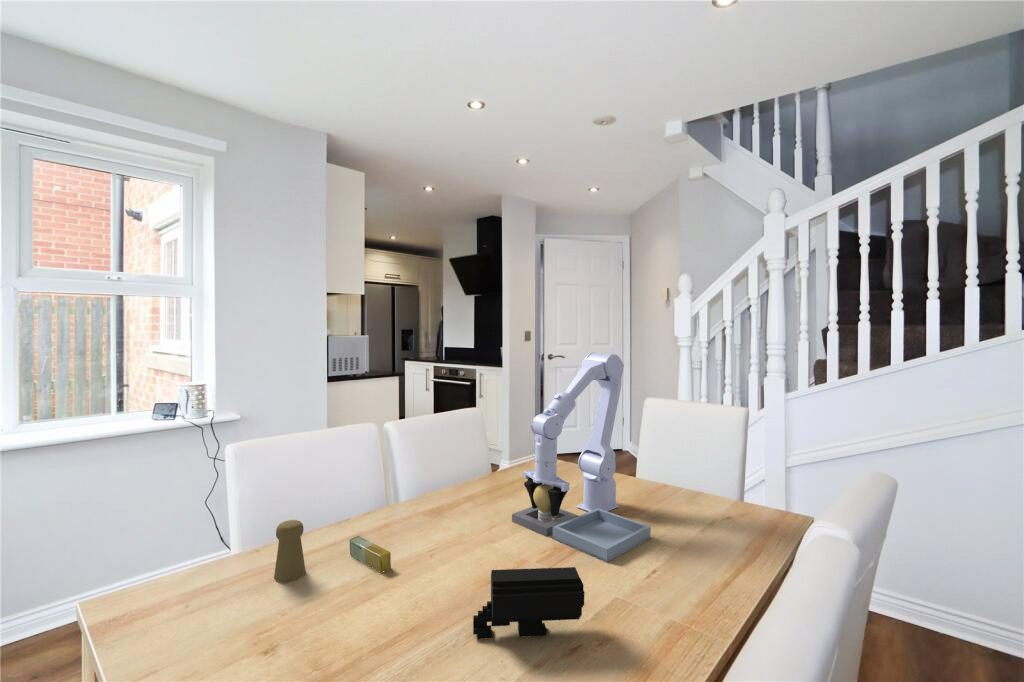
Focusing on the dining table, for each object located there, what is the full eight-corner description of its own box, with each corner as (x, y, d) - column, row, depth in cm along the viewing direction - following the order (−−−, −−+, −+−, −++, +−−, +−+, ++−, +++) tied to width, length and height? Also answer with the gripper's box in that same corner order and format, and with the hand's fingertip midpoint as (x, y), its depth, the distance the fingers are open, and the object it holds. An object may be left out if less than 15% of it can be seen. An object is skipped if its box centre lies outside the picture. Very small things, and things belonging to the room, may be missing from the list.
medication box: (349, 556, 110) (348, 539, 110) (359, 551, 112) (359, 534, 112) (381, 574, 102) (380, 555, 102) (392, 569, 104) (391, 551, 104)
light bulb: (557, 518, 132) (557, 481, 132) (557, 527, 126) (557, 489, 126) (533, 516, 133) (534, 480, 133) (532, 526, 127) (532, 488, 126)
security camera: (473, 622, 86) (473, 566, 86) (576, 617, 88) (577, 562, 87) (473, 648, 79) (473, 587, 79) (585, 643, 81) (586, 583, 80)
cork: (312, 570, 103) (312, 518, 103) (290, 584, 97) (290, 530, 97) (289, 565, 105) (289, 514, 105) (266, 579, 99) (266, 525, 99)
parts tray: (597, 519, 132) (597, 508, 132) (650, 538, 120) (650, 526, 120) (552, 538, 119) (552, 526, 119) (606, 562, 108) (607, 549, 108)
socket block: (543, 509, 138) (543, 502, 138) (578, 522, 129) (578, 515, 129) (511, 521, 130) (512, 514, 130) (546, 536, 121) (546, 528, 121)
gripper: (515, 457, 131) (515, 507, 132) (556, 469, 121) (555, 523, 121) (534, 452, 136) (533, 501, 137) (574, 464, 126) (574, 516, 126)
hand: (545, 511), depth 129 cm, fingers closed on light bulb, 6 cm apart
